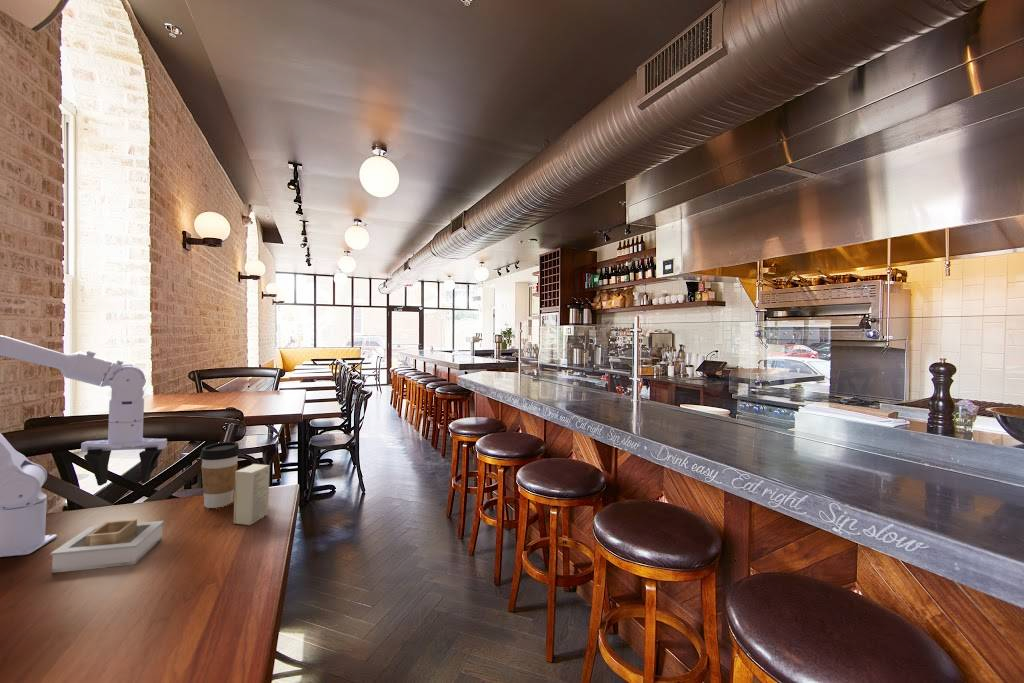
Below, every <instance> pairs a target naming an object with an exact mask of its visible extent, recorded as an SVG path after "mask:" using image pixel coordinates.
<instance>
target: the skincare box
mask: <svg viewBox="0 0 1024 683" xmlns="http://www.w3.org/2000/svg"><path fill="white" fill-rule="evenodd" d="M270 466H271V465H270V464H260V463H251V465H247V466H245V467H242V468H240V469H237V471H236V472H235V487H234V495H233V500H234V503H233V524H236V525H237V524H238V525H247V526H251V525H252V524H254V523H256V522H258V521H259V519H260V518H261V519H263V518H264V516H265V515H266V516H268V515H269V497H270V496H269V494H270V471H271V470H270V468H271V467H270ZM267 514H268V515H267ZM266 516H265V517H266ZM262 517H263V518H262ZM261 519H260V520H261ZM257 520H258V521H257Z"/></svg>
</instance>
